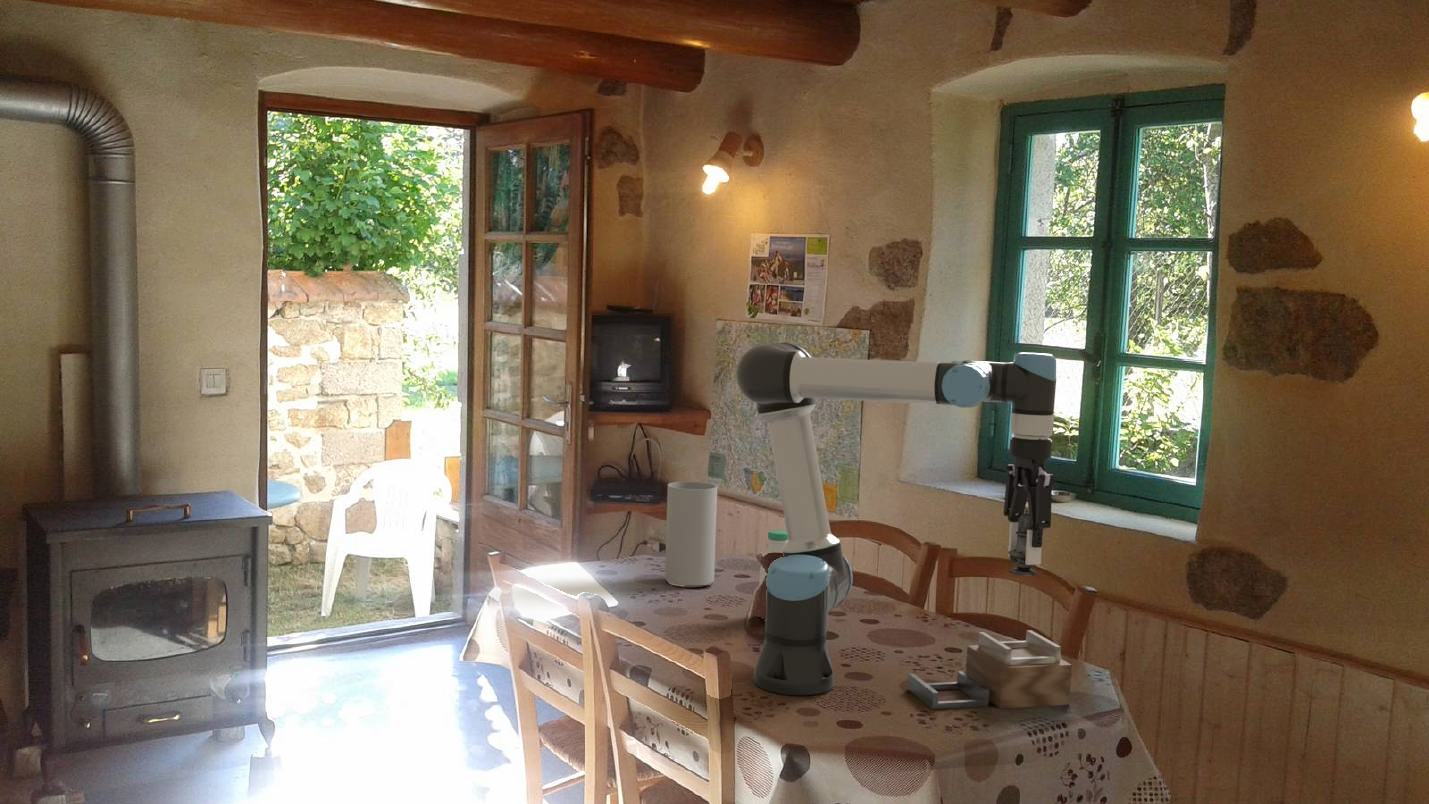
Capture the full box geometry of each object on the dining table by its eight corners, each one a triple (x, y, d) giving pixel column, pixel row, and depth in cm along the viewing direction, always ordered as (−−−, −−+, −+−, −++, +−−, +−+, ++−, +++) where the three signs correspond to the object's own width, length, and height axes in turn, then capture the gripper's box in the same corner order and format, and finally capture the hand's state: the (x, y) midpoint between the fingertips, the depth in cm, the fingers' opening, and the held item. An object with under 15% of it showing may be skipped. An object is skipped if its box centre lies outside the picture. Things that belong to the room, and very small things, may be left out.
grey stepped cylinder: (1040, 577, 219) (1044, 512, 218) (1007, 574, 220) (1011, 510, 219) (1038, 570, 225) (1042, 507, 224) (1006, 568, 226) (1010, 505, 225)
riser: (999, 708, 216) (1003, 651, 215) (965, 683, 229) (968, 630, 228) (1069, 704, 219) (1072, 648, 218) (1031, 680, 233) (1034, 627, 232)
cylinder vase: (723, 582, 305) (726, 485, 303) (696, 591, 294) (700, 491, 292) (682, 574, 311) (685, 480, 309) (654, 583, 301) (658, 485, 299)
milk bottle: (763, 623, 267) (767, 535, 265) (753, 614, 275) (757, 528, 273) (796, 622, 269) (800, 534, 268) (785, 613, 277) (788, 528, 275)
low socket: (932, 709, 214) (933, 692, 214) (907, 689, 225) (908, 673, 224) (988, 706, 217) (989, 690, 217) (961, 686, 227) (962, 671, 227)
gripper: (1076, 443, 212) (1069, 571, 214) (1024, 430, 230) (1017, 549, 232) (1038, 442, 210) (1031, 572, 212) (988, 430, 228) (982, 549, 230)
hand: (1024, 560), depth 222 cm, fingers closed on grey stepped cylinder, 6 cm apart
